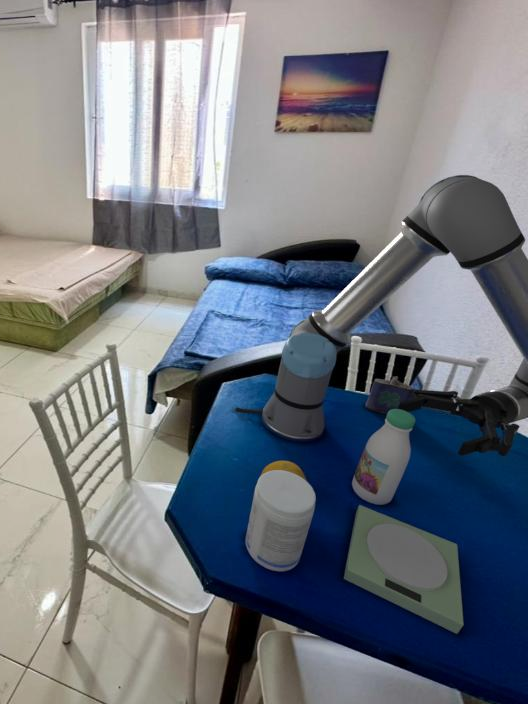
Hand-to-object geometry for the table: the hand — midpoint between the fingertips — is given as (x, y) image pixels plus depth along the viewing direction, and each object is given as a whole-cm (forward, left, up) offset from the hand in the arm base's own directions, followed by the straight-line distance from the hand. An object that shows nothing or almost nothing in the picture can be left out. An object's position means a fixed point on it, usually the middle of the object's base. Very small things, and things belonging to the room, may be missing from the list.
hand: (428, 427), depth 82 cm
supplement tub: (-20, -33, -15) cm, 41 cm away
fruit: (-22, -20, -15) cm, 33 cm away
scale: (0, -24, -14) cm, 28 cm away
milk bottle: (-6, -8, -15) cm, 18 cm away
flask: (-6, +26, -15) cm, 31 cm away
